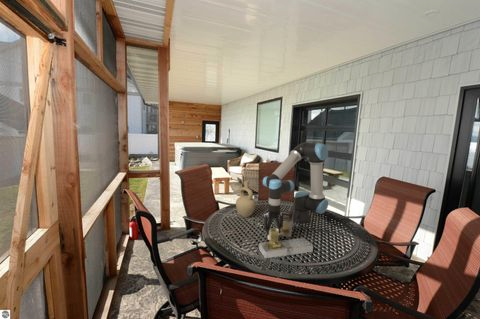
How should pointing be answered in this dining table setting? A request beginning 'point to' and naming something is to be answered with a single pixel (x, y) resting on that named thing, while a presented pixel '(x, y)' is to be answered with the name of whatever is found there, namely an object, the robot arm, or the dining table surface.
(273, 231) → the gold knobbed block
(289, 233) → the coffee box
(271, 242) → the drawer with knob
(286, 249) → the grey slotted tray
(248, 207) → the vase
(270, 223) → the robot arm
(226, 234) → the dining table surface
